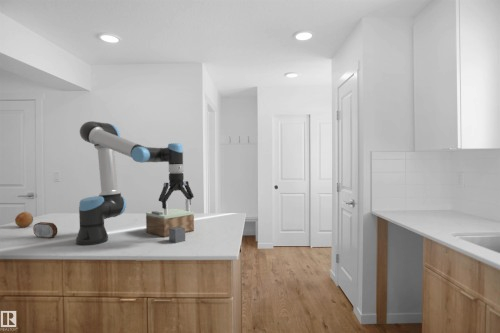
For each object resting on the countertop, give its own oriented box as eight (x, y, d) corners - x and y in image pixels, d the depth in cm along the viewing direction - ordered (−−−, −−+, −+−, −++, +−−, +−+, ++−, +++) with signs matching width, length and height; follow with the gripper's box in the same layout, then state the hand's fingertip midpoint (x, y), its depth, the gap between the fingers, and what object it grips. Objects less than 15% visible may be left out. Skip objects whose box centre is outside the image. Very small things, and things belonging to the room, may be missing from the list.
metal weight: (175, 243, 160) (175, 229, 160) (169, 241, 164) (168, 228, 164) (185, 241, 164) (185, 227, 164) (178, 239, 168) (178, 226, 168)
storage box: (164, 237, 172) (164, 219, 172) (146, 232, 186) (146, 215, 186) (193, 231, 187) (193, 214, 187) (175, 226, 201) (174, 211, 200)
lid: (164, 219, 172) (164, 214, 172) (145, 215, 186) (145, 210, 186) (193, 214, 187) (193, 209, 187) (174, 210, 200) (174, 206, 200)
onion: (17, 226, 207) (16, 211, 207) (34, 224, 212) (34, 210, 211) (13, 229, 199) (12, 213, 198) (31, 227, 203) (31, 212, 203)
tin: (58, 237, 175) (57, 222, 175) (53, 238, 172) (52, 223, 172) (37, 236, 179) (37, 221, 179) (32, 237, 176) (32, 222, 176)
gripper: (158, 173, 152) (159, 217, 152) (199, 171, 170) (200, 210, 170) (150, 173, 157) (152, 215, 157) (191, 171, 175) (192, 209, 175)
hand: (177, 213), depth 164 cm, fingers open, 13 cm apart
